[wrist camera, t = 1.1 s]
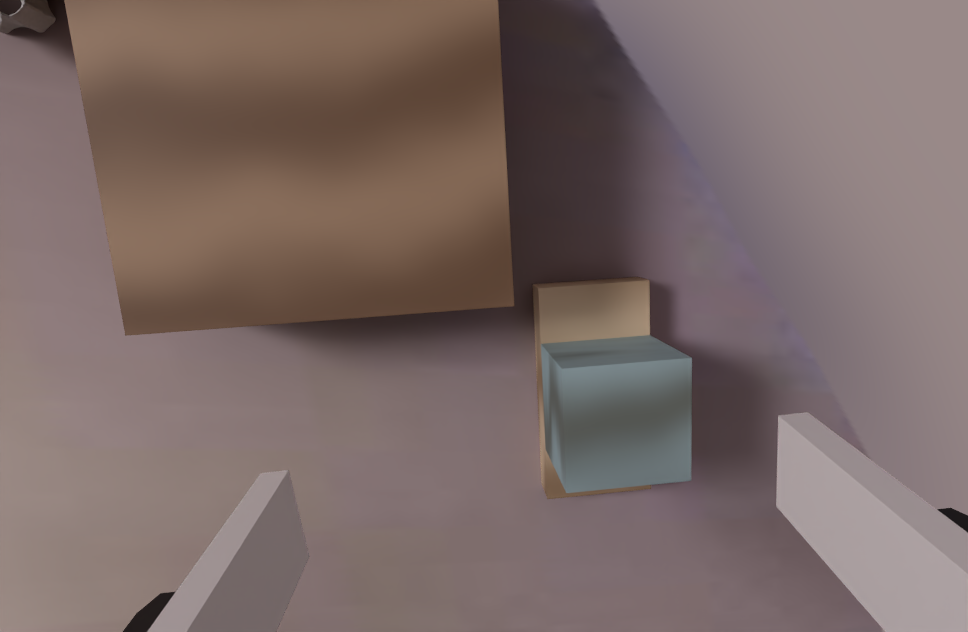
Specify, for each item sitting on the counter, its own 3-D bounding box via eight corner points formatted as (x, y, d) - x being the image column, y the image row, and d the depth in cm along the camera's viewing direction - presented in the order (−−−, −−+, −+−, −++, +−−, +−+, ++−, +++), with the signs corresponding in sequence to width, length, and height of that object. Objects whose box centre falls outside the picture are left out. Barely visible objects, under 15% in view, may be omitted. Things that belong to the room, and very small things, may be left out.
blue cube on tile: (638, 472, 33) (690, 538, 27) (541, 482, 33) (568, 551, 26) (636, 276, 31) (692, 292, 24) (531, 283, 31) (559, 302, 24)
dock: (496, 286, 30) (525, 318, 21) (198, 308, 29) (78, 352, 19) (478, -30, 28) (501, -168, 18) (147, -20, 26) (-25, -161, 17)
